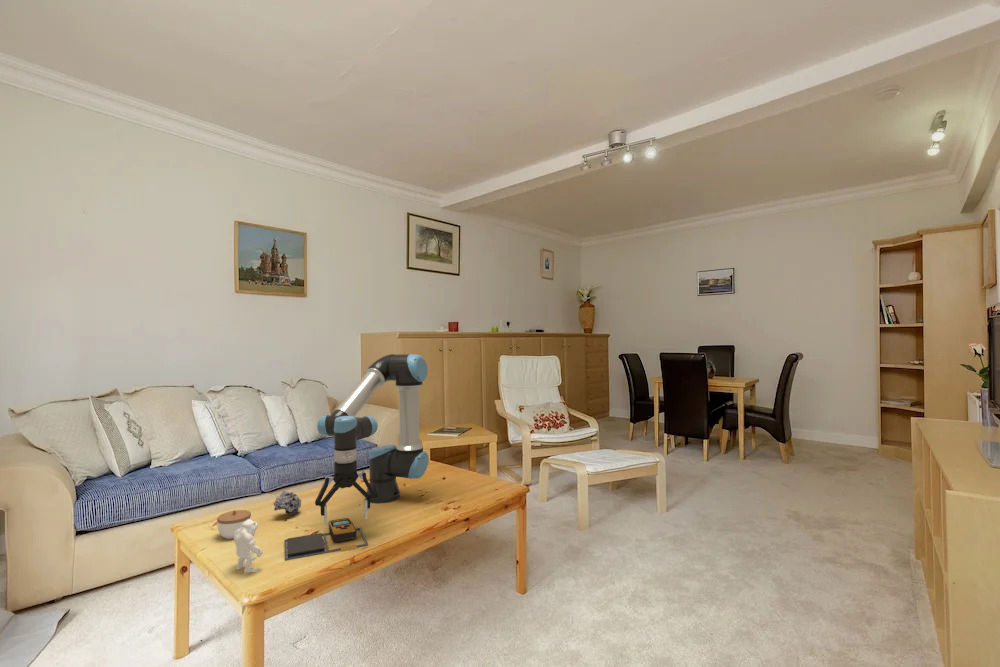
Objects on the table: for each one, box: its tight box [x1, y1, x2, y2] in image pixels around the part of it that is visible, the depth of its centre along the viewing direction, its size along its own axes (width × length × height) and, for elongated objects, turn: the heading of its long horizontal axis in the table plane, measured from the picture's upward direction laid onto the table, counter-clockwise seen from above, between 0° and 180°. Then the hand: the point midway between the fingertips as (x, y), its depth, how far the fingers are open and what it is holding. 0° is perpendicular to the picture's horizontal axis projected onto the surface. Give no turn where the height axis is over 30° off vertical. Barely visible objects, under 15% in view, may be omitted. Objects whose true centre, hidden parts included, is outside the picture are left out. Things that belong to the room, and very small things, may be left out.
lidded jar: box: [216, 509, 252, 540], centre depth 173 cm, size 11×11×9 cm
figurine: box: [233, 519, 263, 574], centre depth 147 cm, size 11×7×15 cm, turn 56°
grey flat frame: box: [284, 527, 369, 562], centre depth 165 cm, size 17×26×2 cm, turn 115°
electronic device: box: [328, 517, 358, 543], centre depth 173 cm, size 8×16×3 cm, turn 26°
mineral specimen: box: [273, 490, 302, 516], centre depth 192 cm, size 12×9×10 cm
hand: (346, 521), depth 168 cm, fingers open, 13 cm apart
